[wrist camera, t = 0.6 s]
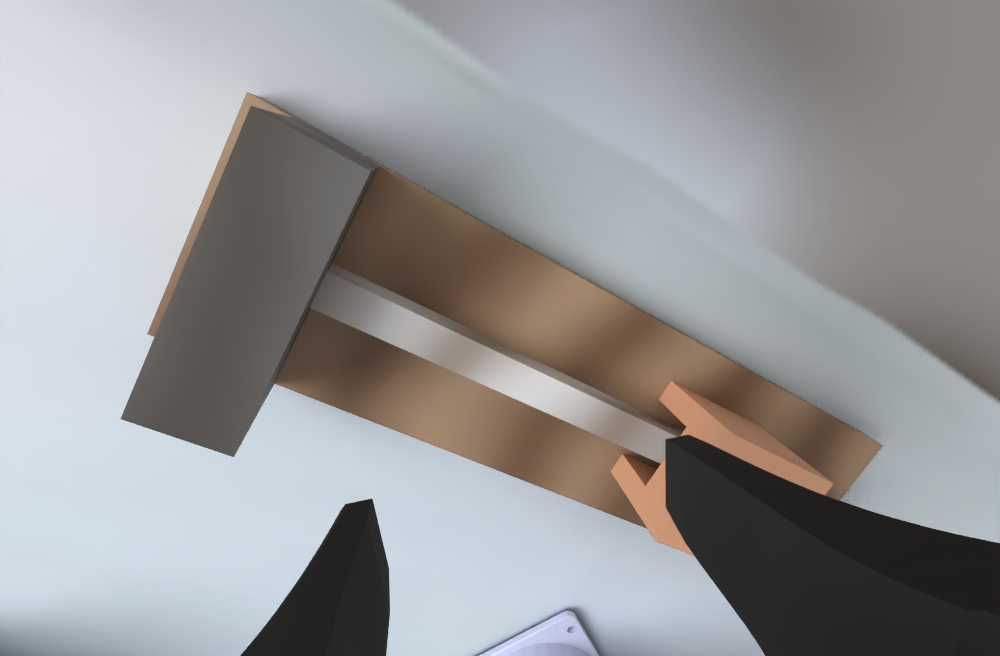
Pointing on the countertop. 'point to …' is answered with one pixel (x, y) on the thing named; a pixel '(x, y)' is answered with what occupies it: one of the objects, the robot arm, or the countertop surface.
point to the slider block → (721, 432)
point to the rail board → (427, 329)
